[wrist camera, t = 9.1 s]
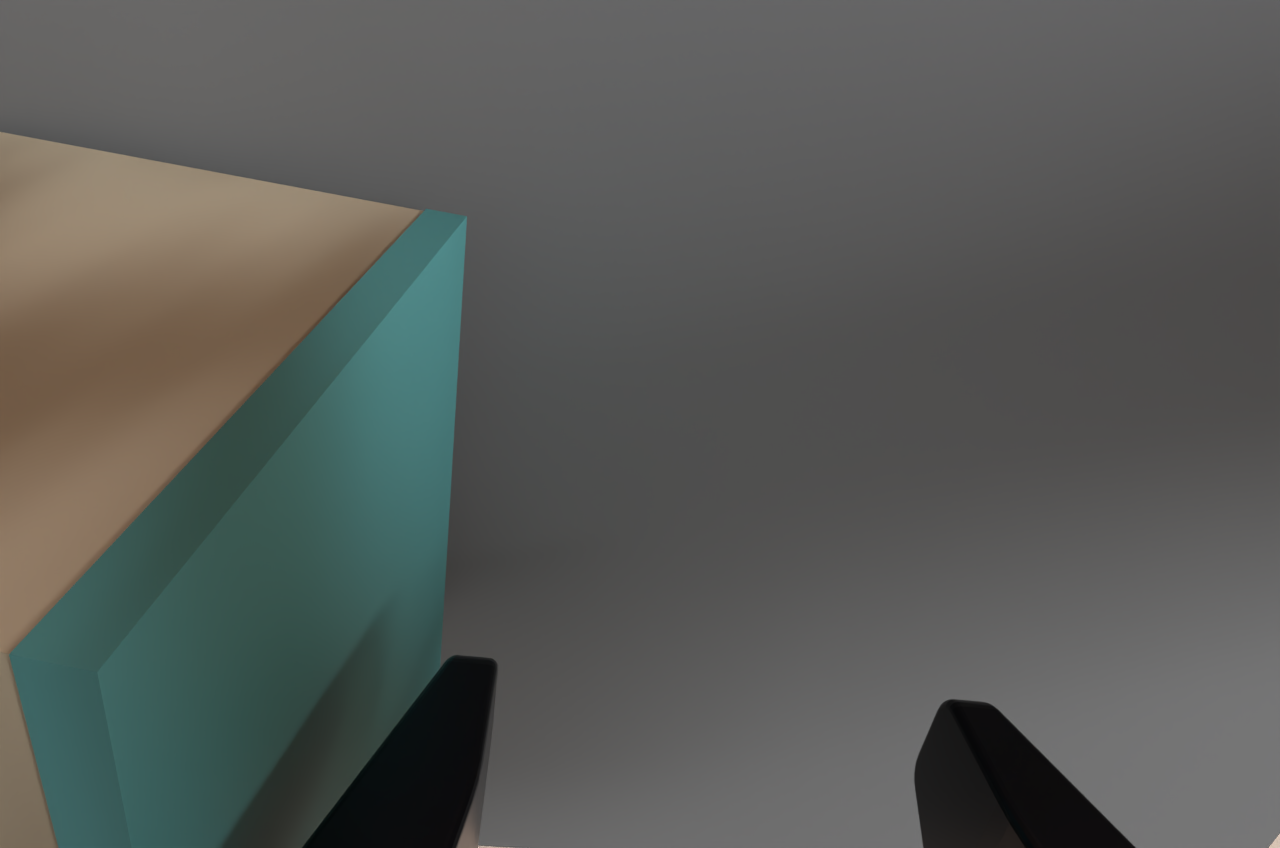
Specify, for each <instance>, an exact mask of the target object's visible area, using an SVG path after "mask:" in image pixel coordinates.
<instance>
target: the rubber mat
mask: <svg viewBox="0 0 1280 848" xmlns="http://www.w3.org/2000/svg"><path fill="white" fill-rule="evenodd" d="M0 132H4V133H9V134H14V135H20V136H25V137H30V138H36V139H41V140H46V141H52V142H57V143H63V144H68V145H73V146H79V147H84V148H89V149H95V150H100V151H105V152H111V153H116V154H121V155H127V156H132V157H137V158H143V159H148V160H154V161H159V162H164V163H170V164H175V165H180V166H186V167H191V168H196V169H202V170H207V171H212V172H218V173H223V174H228V175H234V176H239V177H245V178H250V179H255V180H261V181H266V182H271V183H277V184H282V185H287V186H293V187H298V188H303V189H309V190H314V191H319V192H325V193H330V194H335V195H341V196H346V197H352V198H357V199H362V200H368V201H373V202H378V203H384V204H389V205H394V206H400V207H405V208H410V209H416V210H421V211H425V209H431V210H436V211H441V212H447V213H452V214H458V215H463V216H467V225H466V242H465V259H464V276H463V292H462V309H461V326H460V343H459V360H458V376H457V393H456V410H455V427H454V443H453V460H452V477H451V494H450V511H449V527H448V544H447V561H446V578H445V594H444V611H443V628H442V645H441V662H440V667H441V666H442V665H443V663H444V662H445V661H446V660H447V659H448V658H449V657H452V656H454V655H463V656H474V657H486V658H492V659H494V660H495V661H496V662H497V664H498V676H497V687H496V697H495V708H494V719H493V730H492V739H491V747H490V755H489V763H488V771H487V779H486V787H485V795H484V802H483V810H482V818H481V826H480V834H479V842H478V845H479V846H496V847H514V848H923V843H922V836H921V829H920V822H919V815H918V807H917V800H916V793H915V785H914V771H915V764H916V760H917V757H918V754H919V752H920V749H921V747H922V745H923V743H924V740H925V738H926V736H927V733H928V731H929V729H930V726H931V724H932V722H933V719H934V717H935V715H936V712H937V710H938V709H939V707H940V705H941V704H942V703H943V702H944V701H946V700H949V699H958V700H969V701H980V702H987V703H989V704H991V705H993V706H994V707H996V708H997V709H998V710H999V711H1000V712H1001V713H1002V714H1003V715H1004V716H1005V717H1006V718H1007V719H1008V720H1009V721H1010V722H1011V723H1012V724H1013V725H1014V726H1015V727H1016V728H1017V729H1018V730H1019V731H1020V732H1021V733H1022V734H1023V735H1024V736H1025V737H1026V738H1027V739H1028V740H1029V741H1030V742H1031V743H1032V744H1033V745H1034V746H1035V747H1036V748H1037V749H1038V750H1039V751H1040V752H1041V753H1042V754H1043V755H1044V756H1045V757H1046V758H1047V759H1048V760H1049V761H1050V762H1051V763H1052V764H1053V765H1054V766H1055V767H1056V768H1057V769H1058V770H1059V771H1060V772H1061V773H1062V774H1063V775H1064V776H1065V777H1066V778H1067V779H1068V780H1069V781H1070V782H1071V783H1072V784H1073V785H1074V786H1075V787H1076V788H1077V789H1078V790H1079V791H1080V792H1081V793H1082V794H1083V795H1084V796H1085V797H1086V798H1087V799H1088V800H1089V801H1090V802H1091V803H1092V804H1093V805H1094V806H1095V807H1096V808H1097V809H1098V810H1099V811H1100V812H1101V813H1102V814H1103V815H1104V816H1105V817H1106V818H1107V819H1108V820H1109V821H1110V822H1111V823H1112V824H1113V825H1114V826H1115V827H1116V828H1117V829H1118V830H1119V831H1120V832H1121V833H1122V834H1123V835H1124V836H1125V837H1126V838H1127V839H1128V840H1129V841H1130V842H1131V843H1132V844H1133V845H1134V846H1135V847H1136V848H1269V846H1270V845H1271V844H1272V843H1273V841H1274V840H1275V839H1276V837H1277V836H1278V835H1279V834H1280V0H0ZM439 669H440V668H439Z"/></svg>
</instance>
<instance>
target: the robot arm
mask: <svg viewBox="0 0 1280 848" xmlns="http://www.w3.org/2000/svg"><path fill="white" fill-rule="evenodd" d="M497 676H498V664H497V662H496V661H495V660H494V659H492V658H486V657H474V656H463V655H454V656H452V657H449V658H448V659H447V660H446V661H445V662H444V663H443V665H442V666H441V667H440V669H439V670H438V671H437V673H436V674H435V675H434V676H433V678H432V679H431V680H430V682H429V683H428V684H427V686H426V687H425V688H424V689H423V691H422V692H421V693H420V695H419V696H418V697H417V699H416V700H415V701H414V702H413V704H412V705H411V706H410V708H409V709H408V710H407V712H406V713H405V714H404V715H403V717H402V718H401V719H400V721H399V722H398V723H397V725H396V726H395V727H394V728H393V730H392V731H391V732H390V734H389V735H388V736H387V738H386V739H385V740H384V741H383V743H382V744H381V745H380V747H379V748H378V749H377V751H376V752H375V753H374V754H373V756H372V757H371V758H370V760H369V761H368V762H367V764H366V765H365V766H364V767H363V769H362V770H361V771H360V773H359V774H358V775H357V777H356V778H355V779H354V780H353V782H352V783H351V784H350V786H349V787H348V788H347V790H346V791H345V792H344V794H343V795H342V796H341V797H340V799H339V800H338V801H337V803H336V804H335V805H334V807H333V808H332V809H331V810H330V812H329V813H328V814H327V816H326V817H325V818H324V820H323V821H322V822H321V823H320V825H319V826H318V827H317V829H316V830H315V831H314V833H313V834H312V835H311V836H310V838H309V839H308V840H307V842H306V843H305V844H304V846H303V847H302V848H478V842H479V834H480V826H481V818H482V810H483V802H484V795H485V787H486V779H487V771H488V763H489V755H490V747H491V739H492V730H493V719H494V708H495V697H496V687H497ZM914 785H915V793H916V800H917V807H918V815H919V822H920V829H921V836H922V843H923V848H1136V847H1135V846H1134V845H1133V844H1132V843H1131V842H1130V841H1129V840H1128V839H1127V838H1126V837H1125V836H1124V835H1123V834H1122V833H1121V832H1120V831H1119V830H1118V829H1117V828H1116V827H1115V826H1114V825H1113V824H1112V823H1111V822H1110V821H1109V820H1108V819H1107V818H1106V817H1105V816H1104V815H1103V814H1102V813H1101V812H1100V811H1099V810H1098V809H1097V808H1096V807H1095V806H1094V805H1093V804H1092V803H1091V802H1090V801H1089V800H1088V799H1087V798H1086V797H1085V796H1084V795H1083V794H1082V793H1081V792H1080V791H1079V790H1078V789H1077V788H1076V787H1075V786H1074V785H1073V784H1072V783H1071V782H1070V781H1069V780H1068V779H1067V778H1066V777H1065V776H1064V775H1063V774H1062V773H1061V772H1060V771H1059V770H1058V769H1057V768H1056V767H1055V766H1054V765H1053V764H1052V763H1051V762H1050V761H1049V760H1048V759H1047V758H1046V757H1045V756H1044V755H1043V754H1042V753H1041V752H1040V751H1039V750H1038V749H1037V748H1036V747H1035V746H1034V745H1033V744H1032V743H1031V742H1030V741H1029V740H1028V739H1027V738H1026V737H1025V736H1024V735H1023V734H1022V733H1021V732H1020V731H1019V730H1018V729H1017V728H1016V727H1015V726H1014V725H1013V724H1012V723H1011V722H1010V721H1009V720H1008V719H1007V718H1006V717H1005V716H1004V715H1003V714H1002V713H1001V712H1000V711H999V710H998V709H997V708H996V707H994V706H993V705H991V704H989V703H987V702H980V701H969V700H958V699H949V700H946V701H944V702H943V703H942V704H941V705H940V707H939V709H938V710H937V712H936V715H935V717H934V719H933V722H932V724H931V726H930V729H929V731H928V733H927V736H926V738H925V740H924V743H923V745H922V747H921V749H920V752H919V754H918V757H917V760H916V764H915V771H914Z"/></svg>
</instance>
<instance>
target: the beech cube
mask: <svg viewBox="0 0 1280 848" xmlns="http://www.w3.org/2000/svg"><path fill="white" fill-rule="evenodd" d="M466 225H467V216H463V215H458V214H452V213H447V212H441V211H436V210H431V209H425V211H421V210H416V209H410V208H405V207H400V206H394V205H389V204H384V203H378V202H373V201H368V200H362V199H357V198H352V197H346V196H341V195H335V194H330V193H325V192H319V191H314V190H309V189H303V188H298V187H293V186H287V185H282V184H277V183H271V182H266V181H261V180H255V179H250V178H245V177H239V176H234V175H228V174H223V173H218V172H212V171H207V170H202V169H196V168H191V167H186V166H180V165H175V164H170V163H164V162H159V161H154V160H148V159H143V158H137V157H132V156H127V155H121V154H116V153H111V152H105V151H100V150H95V149H89V148H84V147H79V146H73V145H68V144H63V143H57V142H52V141H46V140H41V139H36V138H30V137H25V136H20V135H14V134H9V133H4V132H0V848H302V847H303V846H304V844H305V843H306V842H307V840H308V839H309V838H310V836H311V835H312V834H313V833H314V831H315V830H316V829H317V827H318V826H319V825H320V823H321V822H322V821H323V820H324V818H325V817H326V816H327V814H328V813H329V812H330V810H331V809H332V808H333V807H334V805H335V804H336V803H337V801H338V800H339V799H340V797H341V796H342V795H343V794H344V792H345V791H346V790H347V788H348V787H349V786H350V784H351V783H352V782H353V780H354V779H355V778H356V777H357V775H358V774H359V773H360V771H361V770H362V769H363V767H364V766H365V765H366V764H367V762H368V761H369V760H370V758H371V757H372V756H373V754H374V753H375V752H376V751H377V749H378V748H379V747H380V745H381V744H382V743H383V741H384V740H385V739H386V738H387V736H388V735H389V734H390V732H391V731H392V730H393V728H394V727H395V726H396V725H397V723H398V722H399V721H400V719H401V718H402V717H403V715H404V714H405V713H406V712H407V710H408V709H409V708H410V706H411V705H412V704H413V702H414V701H415V700H416V699H417V697H418V696H419V695H420V693H421V692H422V691H423V689H424V688H425V687H426V686H427V684H428V683H429V682H430V680H431V679H432V678H433V676H434V675H435V674H436V673H437V671H438V670H439V668H440V662H441V645H442V628H443V611H444V594H445V578H446V561H447V544H448V527H449V511H450V494H451V477H452V460H453V443H454V427H455V410H456V393H457V376H458V360H459V343H460V326H461V309H462V292H463V276H464V259H465V242H466Z"/></svg>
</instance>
